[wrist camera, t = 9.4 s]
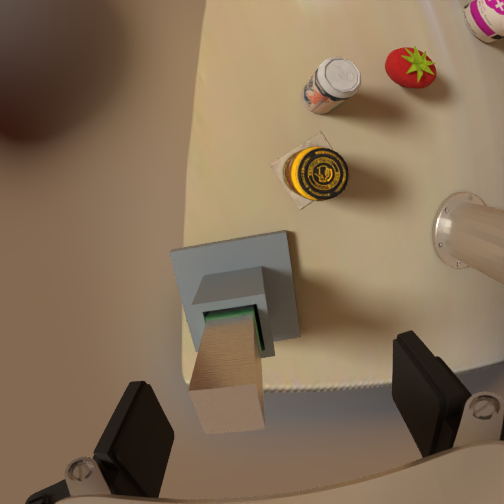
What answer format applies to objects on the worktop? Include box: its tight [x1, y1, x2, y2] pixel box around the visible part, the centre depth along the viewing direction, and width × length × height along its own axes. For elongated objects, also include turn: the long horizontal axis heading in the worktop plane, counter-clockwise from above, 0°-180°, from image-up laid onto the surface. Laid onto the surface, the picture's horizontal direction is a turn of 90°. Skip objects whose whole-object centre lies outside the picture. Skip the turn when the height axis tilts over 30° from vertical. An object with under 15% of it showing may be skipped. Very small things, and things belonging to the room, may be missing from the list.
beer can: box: [302, 57, 361, 114], centre depth 33 cm, size 5×5×12 cm
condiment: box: [270, 132, 350, 210], centre depth 36 cm, size 7×8×12 cm
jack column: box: [188, 304, 265, 434], centre depth 30 cm, size 5×5×17 cm
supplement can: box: [463, 0, 504, 43], centre depth 27 cm, size 8×8×15 cm
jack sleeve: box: [170, 230, 300, 358], centre depth 40 cm, size 16×16×12 cm
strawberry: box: [385, 46, 436, 89], centre depth 33 cm, size 6×8×10 cm
